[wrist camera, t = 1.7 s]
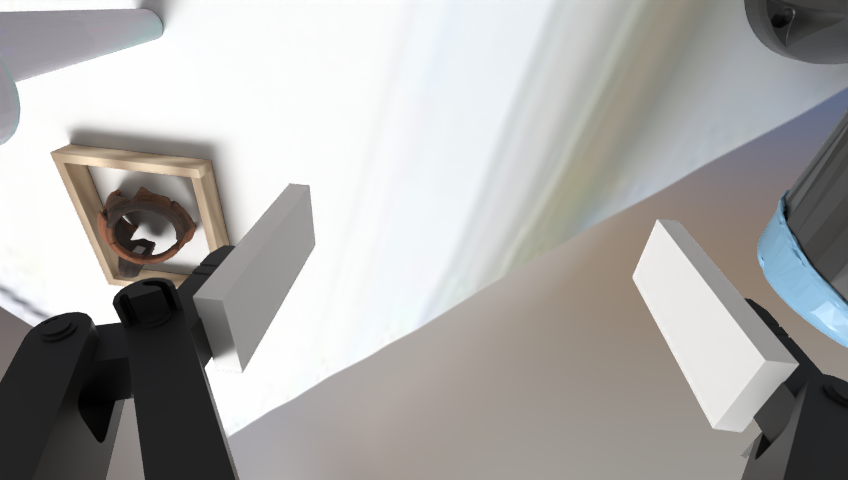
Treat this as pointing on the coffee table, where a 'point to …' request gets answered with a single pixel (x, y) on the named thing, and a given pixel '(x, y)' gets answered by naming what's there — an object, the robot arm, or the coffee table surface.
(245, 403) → the coffee table surface
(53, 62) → the novelty light stick
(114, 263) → the mug frame
